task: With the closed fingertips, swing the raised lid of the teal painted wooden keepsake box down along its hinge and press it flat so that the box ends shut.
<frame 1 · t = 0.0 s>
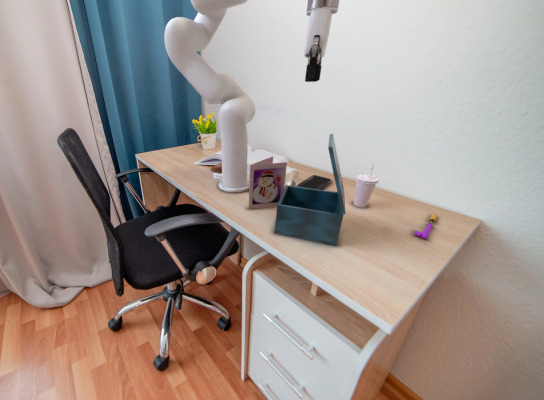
hand: (312, 81, 69), 37 cm above the table, tool pointing down, fingers open, 9 cm apart
lid: (337, 172, 59), point 17 cm above the table, hinge at 70.0°
keepsake box: (306, 225, 69), on the table
sunglasses case: (229, 167, 114), on the table
smoothie: (359, 205, 79), on the table
purple bent handle tool: (425, 226, 68), on the table
greeting card: (263, 203, 81), on the table
phone: (314, 185, 93), on the table
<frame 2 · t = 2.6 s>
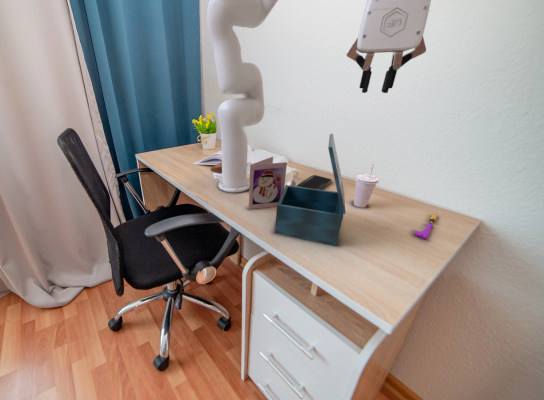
hand: (374, 91, 50), 35 cm above the table, tool pointing down, fingers open, 3 cm apart
nothing on the table moved.
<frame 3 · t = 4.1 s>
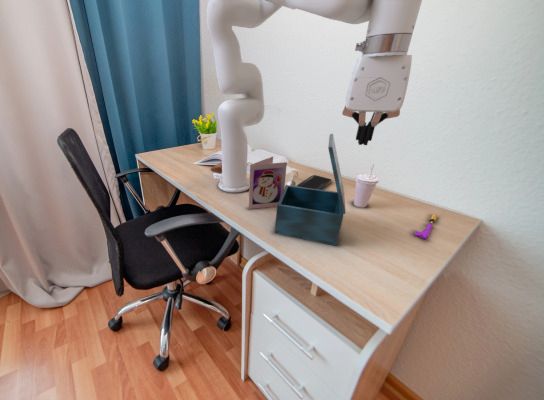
hand: (362, 143, 54), 24 cm above the table, tool pointing down, fingers closed
nothing on the table moved.
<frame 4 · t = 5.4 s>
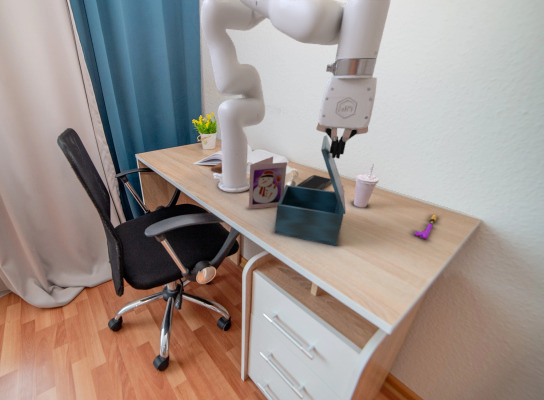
hand: (335, 156, 58), 21 cm above the table, tool pointing down, fingers closed
lid: (334, 172, 60), point 17 cm above the table, hinge at 64.9°
everything else where it was.
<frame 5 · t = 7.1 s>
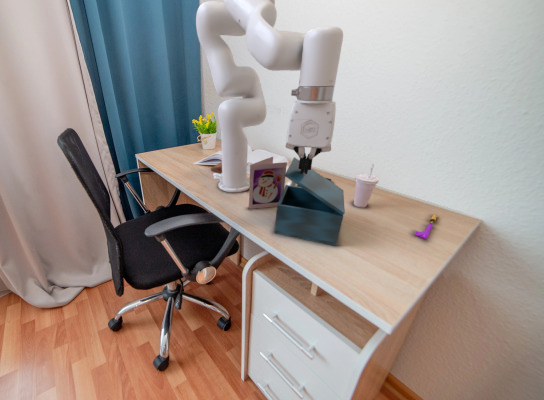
hand: (304, 171, 62), 16 cm above the table, tool pointing down, fingers closed
lid: (316, 183, 62), point 13 cm above the table, hinge at 29.4°, touching gripper
everything else where it was.
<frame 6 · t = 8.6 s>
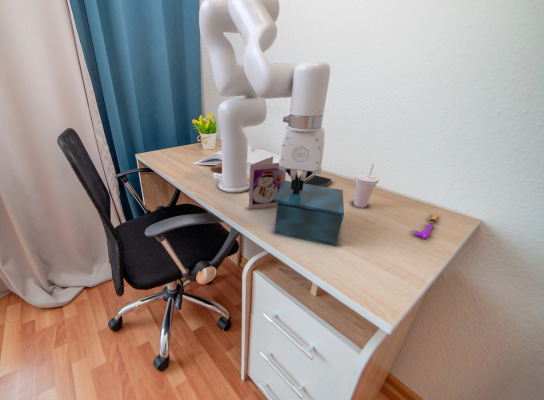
hand: (296, 191, 65), 10 cm above the table, tool pointing down, fingers closed
lid: (309, 195, 65), point 10 cm above the table, hinge at 2.1°
everything else where it was.
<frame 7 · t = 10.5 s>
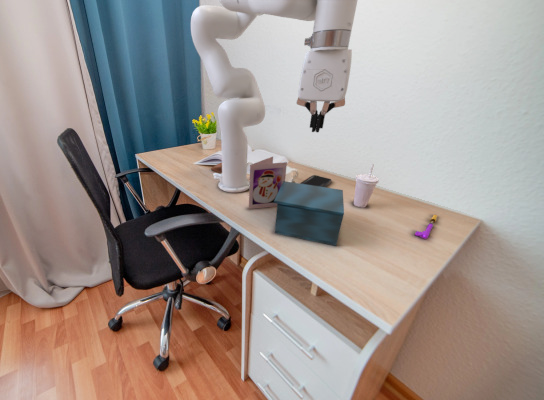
hand: (315, 131, 60), 26 cm above the table, tool pointing down, fingers closed
lid: (309, 196, 65), point 9 cm above the table, hinge at 1.1°
everything else where it was.
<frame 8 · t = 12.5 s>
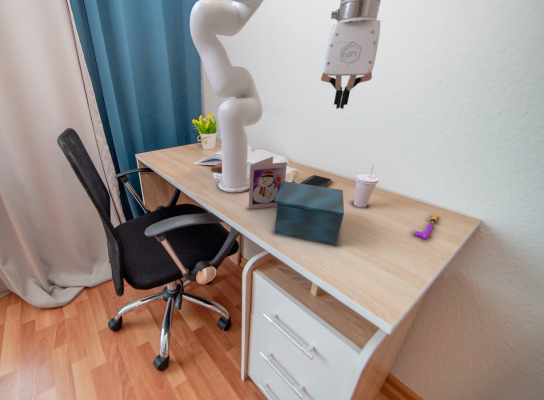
hand: (339, 107, 59), 31 cm above the table, tool pointing down, fingers closed
nothing on the table moved.
at the end: lid at +1° (first picture: +70°) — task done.
